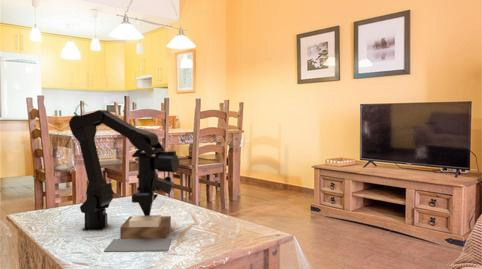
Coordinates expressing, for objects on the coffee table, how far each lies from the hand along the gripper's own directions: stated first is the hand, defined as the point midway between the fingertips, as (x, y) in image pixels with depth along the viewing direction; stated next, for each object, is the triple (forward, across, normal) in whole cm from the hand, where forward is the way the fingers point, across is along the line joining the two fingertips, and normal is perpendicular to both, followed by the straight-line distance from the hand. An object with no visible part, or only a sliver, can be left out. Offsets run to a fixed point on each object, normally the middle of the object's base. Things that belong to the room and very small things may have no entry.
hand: (147, 217), depth 120 cm
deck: (+5, -1, 0) cm, 5 cm away
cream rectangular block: (+1, -4, 0) cm, 4 cm away
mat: (+5, -12, 0) cm, 13 cm away
